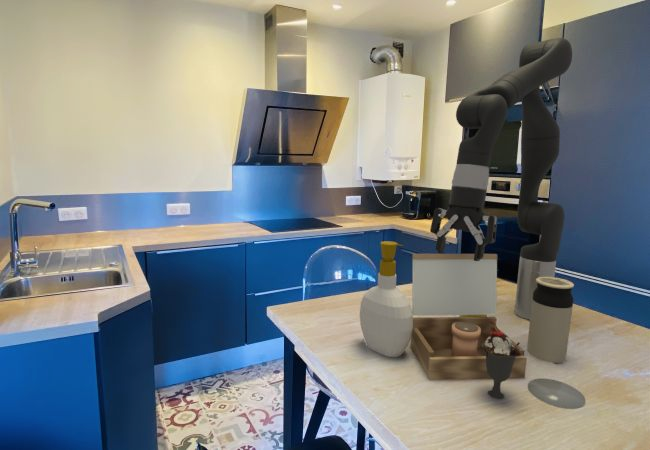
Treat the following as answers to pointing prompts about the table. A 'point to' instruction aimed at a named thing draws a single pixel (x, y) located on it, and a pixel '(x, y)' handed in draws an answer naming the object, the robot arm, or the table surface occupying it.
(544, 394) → the slate saucer
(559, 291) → the travel mug
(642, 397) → the table surface
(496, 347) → the sundae
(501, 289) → the table surface
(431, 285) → the frame lid
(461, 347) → the clay pot
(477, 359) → the box
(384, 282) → the soap bottle
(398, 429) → the table surface
